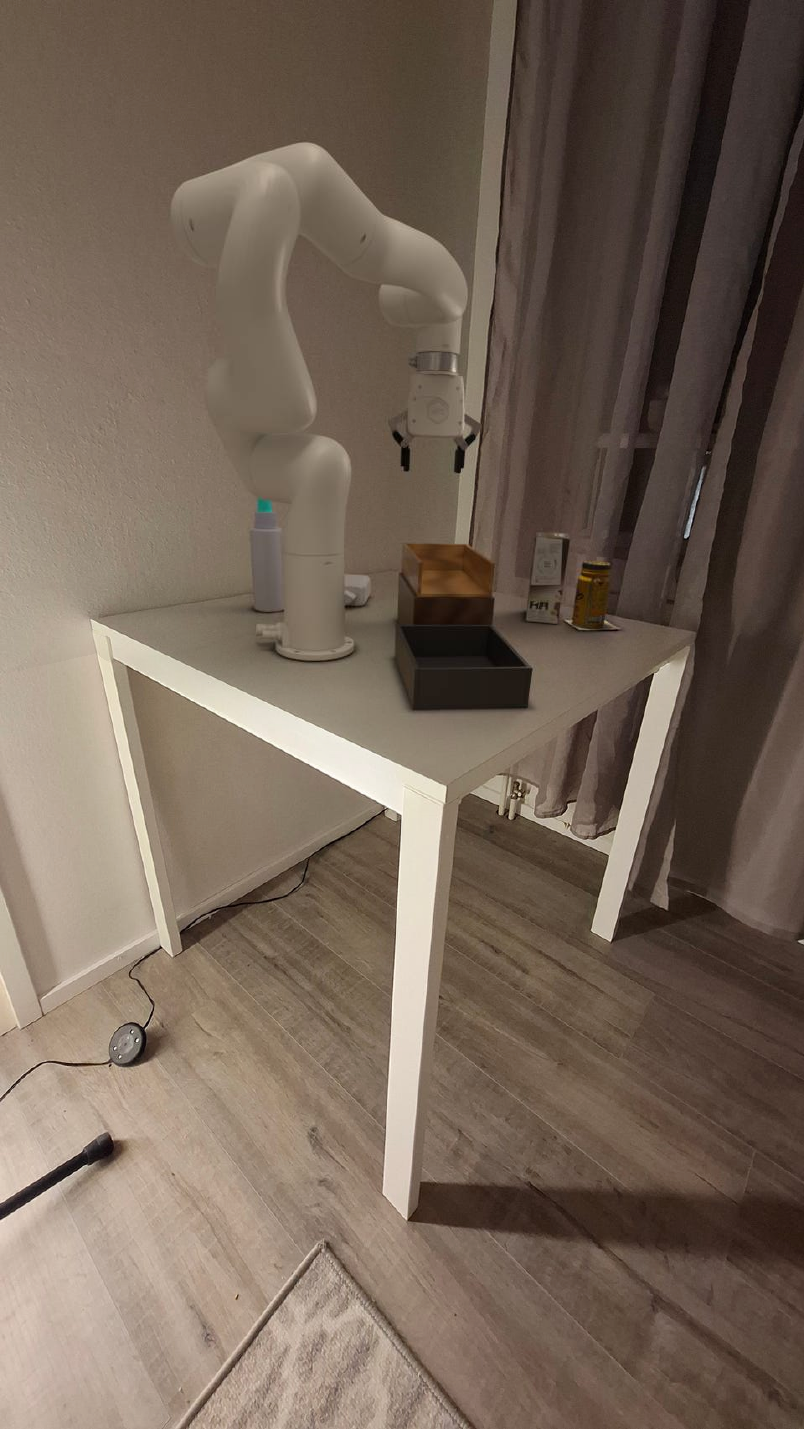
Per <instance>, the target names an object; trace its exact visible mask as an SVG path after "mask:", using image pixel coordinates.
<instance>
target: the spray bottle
mask: <svg viewBox="0 0 804 1429" xmlns="http://www.w3.org/2000/svg"><path fill="white" fill-rule="evenodd" d="M256 499H257V510H255V511H254V526H252V527H250V528H249V531H248V532H249V544H250V561H251V576H252V579H251V580H252V592H253V593H252V594H253V595H252V596H253V606H254V607H253V608H254V610H256V611H258V612H261V613H277V612H281V611H284V602H283V579H282V556H281V531H282V527H279V526H278V525H277V515H276V511H274V510H273V506H272V504H273V503H272V501H266V500H262V499H259V498H257V497H256Z"/></svg>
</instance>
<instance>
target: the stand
mask: <svg viewBox="0 0 804 1429" xmlns="http://www.w3.org/2000/svg"><path fill="white" fill-rule="evenodd" d="M397 584H398V586H397V588H398V589H397V615H396V617H397V619H396V621H397V622H398V625H493V622H494V621H493V619H494V610H495V599H496V598H495V597H494V596H493V595H492V598H485V597H417V596H416V594H415V593H414V591H413V590H412V588H411V586H410V585H409V583H408V582H407V580H406V579H405V577H404V576H403V574H402V572H398V583H397Z"/></svg>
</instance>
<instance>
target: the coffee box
mask: <svg viewBox="0 0 804 1429" xmlns="http://www.w3.org/2000/svg"><path fill="white" fill-rule="evenodd" d="M534 535H535V536H534V541H533V551H532V558H531V566H530V576H529V584H528V592H527V600H526V601H527V602H526V603H527V604H526V613H525V614H526V615H525V621H526V622H531V623H541V624H543V623H544V624H552V625H557V624H558V623H559V617H560V610H561V605H562V598H563V591H564V583H565V577H566V571H567V564H568V558H569V552H570V544H571V538H570V535H569V533H567V532H549V531H547V532H542V531H538V532H537V531H536V532H535V534H534Z"/></svg>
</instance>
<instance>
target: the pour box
mask: <svg viewBox="0 0 804 1429" xmlns="http://www.w3.org/2000/svg"><path fill="white" fill-rule="evenodd" d="M401 547H402V549H401V573H402V574H403V576H404V577H405V579H406V580H407V582H408V583H409V585H410V586H411V588H412V590H413V591H414V593H415V594H416V596H417V597H485V598H492V596H493V589H494V580H495V579H494V578H495V568H496V563H495V562H494V561H493V560H491V559H490V558H488V557H487V556H485V555H484V554H482V553H480V551H477V550H476V549H475V548H473V547H472V546H470V545H468V543H433V542H425V543H424V542H403V543H402V546H401Z"/></svg>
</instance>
